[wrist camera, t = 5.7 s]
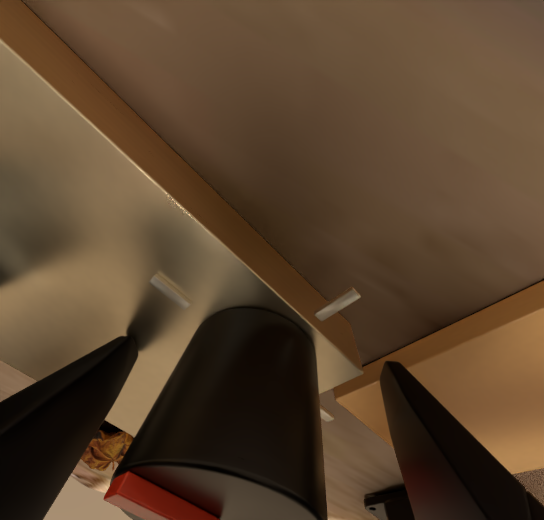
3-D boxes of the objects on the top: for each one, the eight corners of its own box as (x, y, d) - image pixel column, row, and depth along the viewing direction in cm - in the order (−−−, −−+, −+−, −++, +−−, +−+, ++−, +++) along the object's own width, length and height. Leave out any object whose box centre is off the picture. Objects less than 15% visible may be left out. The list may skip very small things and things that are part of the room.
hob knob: (343, 365, 8) (383, 578, 4) (255, 409, 9) (224, 588, 6) (249, 281, 7) (180, 461, 3) (170, 348, 8) (60, 517, 5)
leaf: (72, 446, 19) (56, 472, 18) (27, 406, 16) (2, 435, 14) (148, 448, 19) (138, 475, 18) (121, 409, 16) (105, 439, 14)
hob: (405, 322, 10) (438, 378, 7) (210, 424, 15) (193, 475, 13) (-81, -207, 5) (-419, -519, 3) (-114, 212, 10) (-236, 232, 8)
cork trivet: (647, 415, 10) (680, 440, 10) (433, 468, 14) (442, 489, 13) (562, 270, 8) (594, 285, 7) (332, 381, 12) (334, 400, 11)
